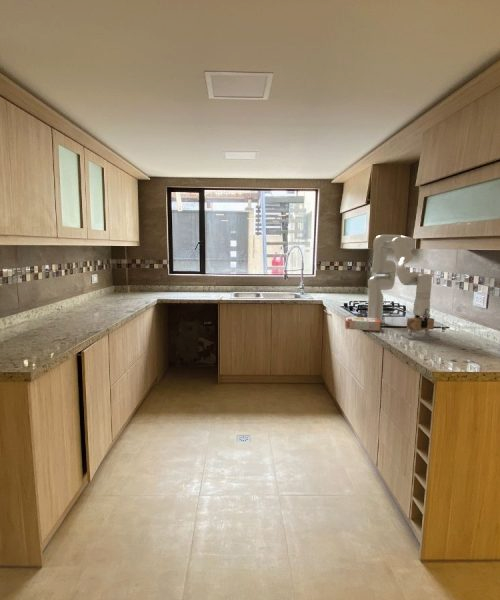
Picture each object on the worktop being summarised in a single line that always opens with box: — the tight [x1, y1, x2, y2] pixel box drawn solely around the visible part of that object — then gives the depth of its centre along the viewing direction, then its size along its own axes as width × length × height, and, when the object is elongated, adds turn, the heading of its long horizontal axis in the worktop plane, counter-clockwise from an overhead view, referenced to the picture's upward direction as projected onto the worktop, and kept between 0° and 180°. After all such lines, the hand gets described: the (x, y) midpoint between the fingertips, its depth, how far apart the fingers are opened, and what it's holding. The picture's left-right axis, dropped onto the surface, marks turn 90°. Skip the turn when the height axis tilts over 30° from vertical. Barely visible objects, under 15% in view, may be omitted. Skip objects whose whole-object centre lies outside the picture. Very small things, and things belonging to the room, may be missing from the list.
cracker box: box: [344, 316, 382, 332], centre depth 236 cm, size 14×6×21 cm
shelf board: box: [406, 316, 435, 332], centre depth 213 cm, size 6×14×6 cm, turn 112°
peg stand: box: [400, 329, 441, 341], centre depth 213 cm, size 10×18×4 cm, turn 93°
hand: (420, 326), depth 213 cm, fingers closed on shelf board, 7 cm apart
